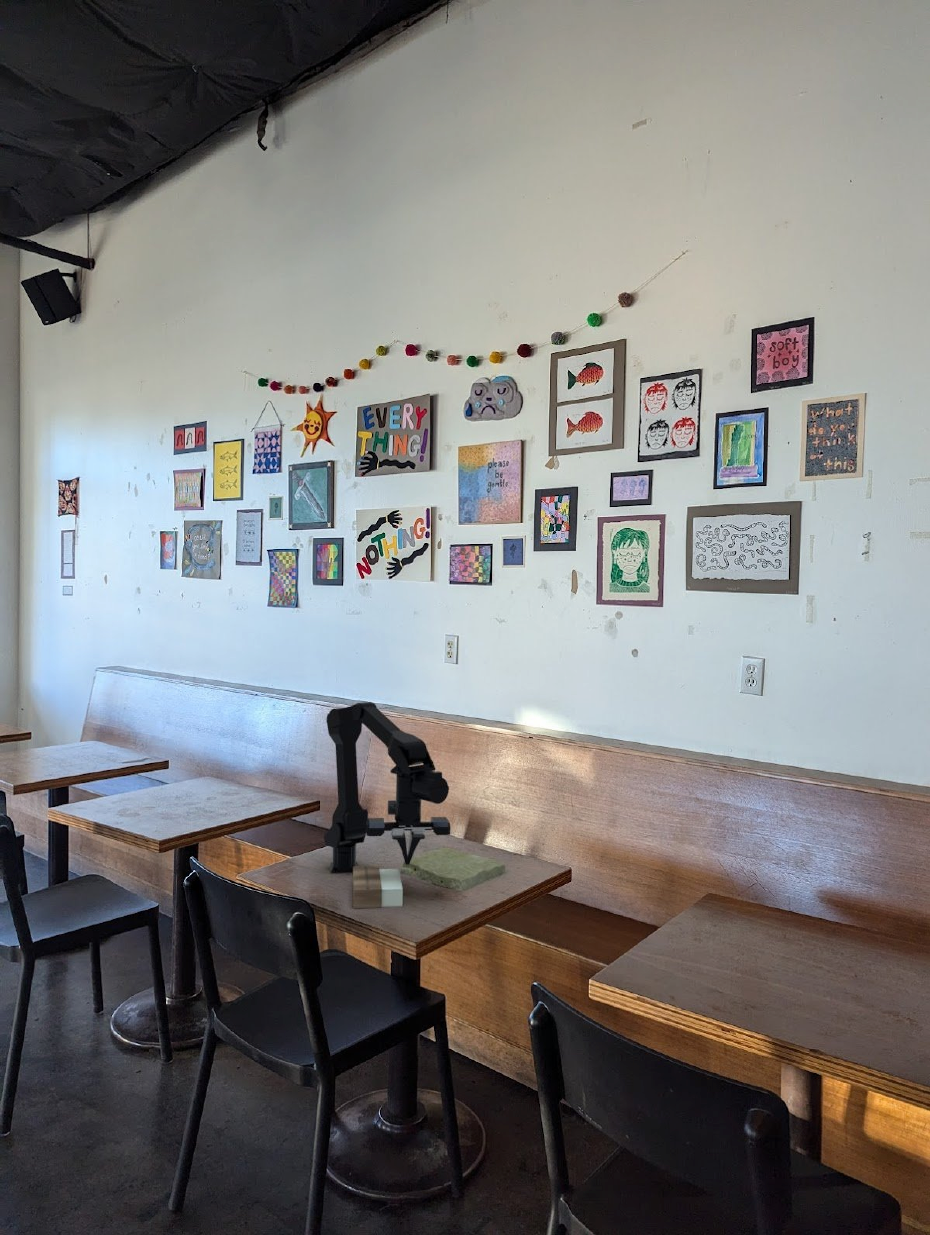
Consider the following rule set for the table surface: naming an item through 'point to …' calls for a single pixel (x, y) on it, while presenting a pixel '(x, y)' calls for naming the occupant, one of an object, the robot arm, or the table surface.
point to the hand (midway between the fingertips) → (407, 864)
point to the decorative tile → (453, 868)
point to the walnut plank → (366, 887)
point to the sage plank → (391, 887)
